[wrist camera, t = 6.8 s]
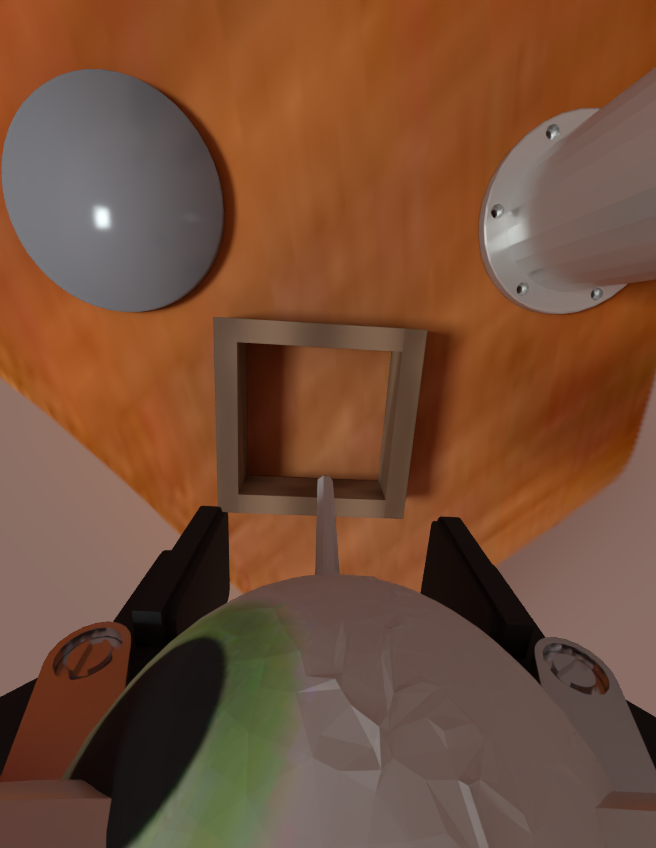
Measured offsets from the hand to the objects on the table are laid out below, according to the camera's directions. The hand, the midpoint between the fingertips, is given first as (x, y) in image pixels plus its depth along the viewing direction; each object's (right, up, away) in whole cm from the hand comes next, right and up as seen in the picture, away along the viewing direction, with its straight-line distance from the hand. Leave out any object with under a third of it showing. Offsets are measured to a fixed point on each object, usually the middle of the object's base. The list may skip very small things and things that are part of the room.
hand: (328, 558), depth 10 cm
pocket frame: (-1, +5, +18) cm, 19 cm away
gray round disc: (-14, +19, +14) cm, 27 cm away
